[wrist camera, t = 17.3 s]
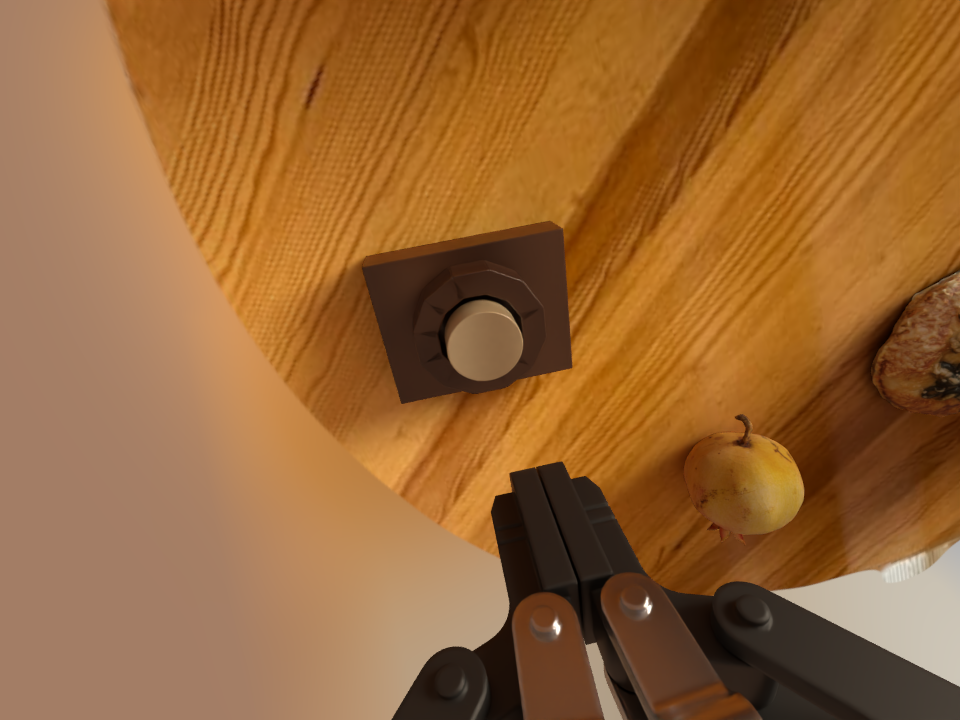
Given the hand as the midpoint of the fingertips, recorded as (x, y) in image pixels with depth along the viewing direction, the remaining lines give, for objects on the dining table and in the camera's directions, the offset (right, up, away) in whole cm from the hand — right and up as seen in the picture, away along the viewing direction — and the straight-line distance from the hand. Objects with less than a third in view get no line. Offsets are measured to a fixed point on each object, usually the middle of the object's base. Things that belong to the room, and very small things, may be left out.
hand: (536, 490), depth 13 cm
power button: (-2, +5, +10) cm, 11 cm away
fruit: (+16, -3, +21) cm, 27 cm away
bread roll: (+31, +5, +19) cm, 36 cm away
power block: (-2, +7, +13) cm, 15 cm away
